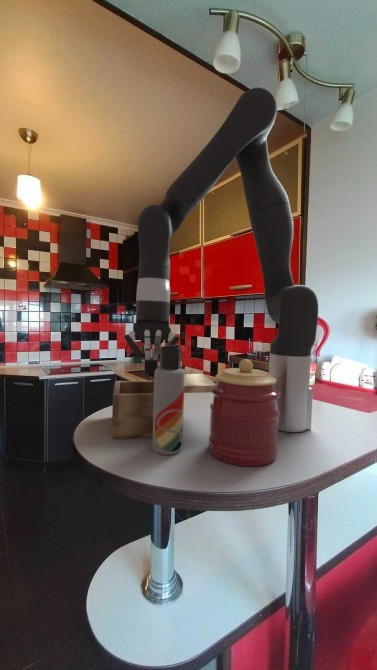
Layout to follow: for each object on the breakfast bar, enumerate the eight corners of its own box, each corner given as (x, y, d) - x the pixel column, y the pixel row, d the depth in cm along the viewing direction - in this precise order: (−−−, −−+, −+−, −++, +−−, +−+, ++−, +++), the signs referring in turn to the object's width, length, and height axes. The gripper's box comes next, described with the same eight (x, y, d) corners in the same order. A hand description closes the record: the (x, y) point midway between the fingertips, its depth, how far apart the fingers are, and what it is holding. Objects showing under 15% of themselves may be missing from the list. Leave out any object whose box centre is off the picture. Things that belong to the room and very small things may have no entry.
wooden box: (162, 415, 77) (163, 380, 77) (170, 436, 63) (171, 394, 63) (114, 416, 75) (115, 381, 74) (111, 439, 61) (112, 395, 61)
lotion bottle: (178, 457, 54) (181, 346, 53) (148, 453, 55) (150, 344, 54) (185, 444, 59) (188, 343, 58) (158, 441, 61) (160, 342, 60)
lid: (201, 379, 79) (202, 362, 78) (217, 392, 65) (218, 371, 65) (155, 379, 76) (156, 362, 76) (162, 393, 63) (162, 371, 62)
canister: (283, 472, 50) (288, 366, 49) (204, 463, 52) (208, 362, 51) (273, 441, 63) (277, 356, 62) (211, 435, 65) (214, 353, 64)
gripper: (123, 297, 63) (120, 379, 64) (185, 300, 66) (181, 379, 67) (123, 299, 70) (121, 373, 71) (179, 302, 73) (176, 373, 74)
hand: (150, 375), depth 69 cm, fingers closed
